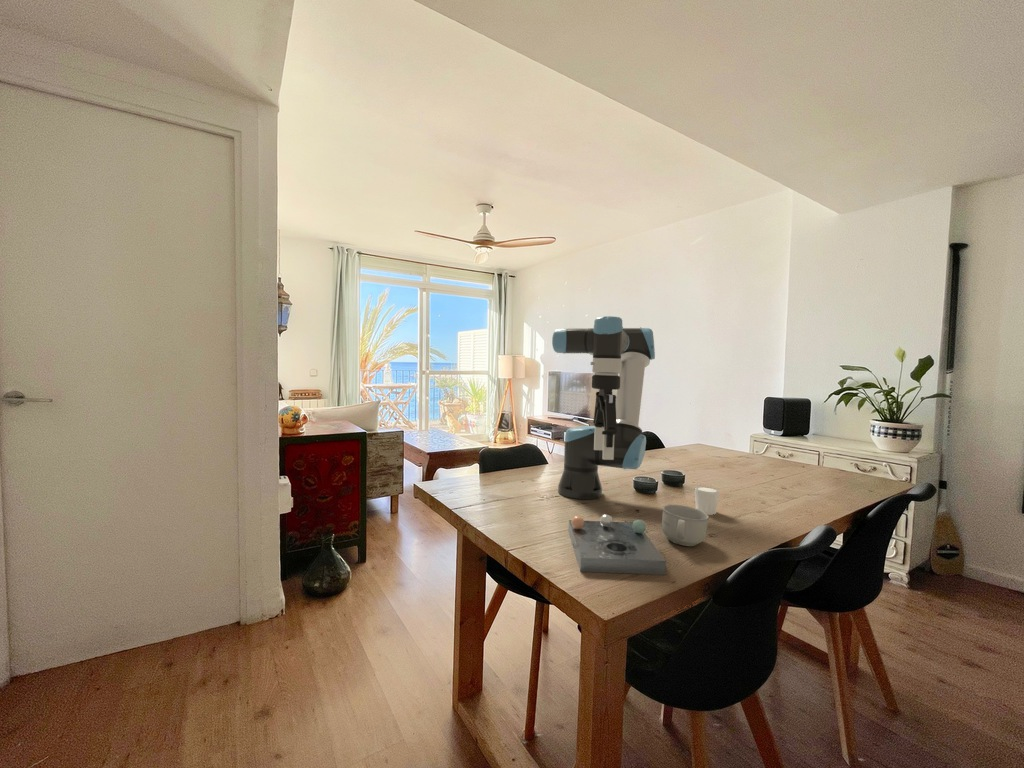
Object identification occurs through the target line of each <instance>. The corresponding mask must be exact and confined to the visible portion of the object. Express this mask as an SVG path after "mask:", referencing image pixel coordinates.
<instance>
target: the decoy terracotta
mask: <svg viewBox="0 0 1024 768" xmlns="http://www.w3.org/2000/svg"><path fill="white" fill-rule="evenodd" d="M571 520H572V521H571V523H572V526H573V527H574V528H575V529H581V528H583V526H584V521H585V520H584V517H582V516H580V515H575V516H573V518H572V519H571Z"/></svg>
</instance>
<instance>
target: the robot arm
mask: <svg viewBox="0 0 1024 768" xmlns="http://www.w3.org/2000/svg"><path fill="white" fill-rule="evenodd" d="M654 339H655V338H654V332H653V330H652V329H651V328H649V327H629V328H627V327H626V328H625V327H623V318H621V317H620V316H611V315H607V316H598V317H596V318H595V319H594V324H593V327H592V328H589V327H588V328H566V327H565V328H556V329H555V330H554V331H553V334H552V339H551V340H552V349H553V352H554V353H557V354H586V355H587V354H589V355H590V356H592V361H590V366H592V373H593V374H592V377H591V388H592V389H594V390H595V389H596V390H598V391H596V392H595V406H594V414H593V420H592V423H593V425H583V426H573V427H570V428H568V429H567V430H566V431H565V435H564V436H565V437H564V441H563V442H564V454H563V455H564V457H563V459H564V460H563V471H562V474H561V477H560V479H559V482H558V484H557V492H558V494H559V495H561V496H563V497H567V498H571V499H575V500H576V499H577V500H594V499H598V498H601V497H603V487H602V483H601V479H600V476H599V472H598V470H599V467H600V466H601V467H607V468H617V469H623V470H637V469H639V468H640V467H641V465H642V463H643V460H644V456H645V453H646V445H647V436H646V435H644V434H643V430H642V428H641V427H640V426H639V423H640V415H641V406H642V405H641V404H642V395H643V387H644V376H645V369H646V368H647V367H648V366H649V365H650V363H651V361H652V360H655V358H656V352H655V351H656V350H655V340H654ZM613 390H616V394H613Z"/></svg>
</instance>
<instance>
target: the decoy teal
mask: <svg viewBox="0 0 1024 768" xmlns="http://www.w3.org/2000/svg"><path fill="white" fill-rule="evenodd" d="M632 527H633V530H634V531H635V532H636V533H643V532H644V533H645V531H646V529H647V526H646V523H645V521H644V520H642V519H636V520H634V521H633V525H632Z"/></svg>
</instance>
